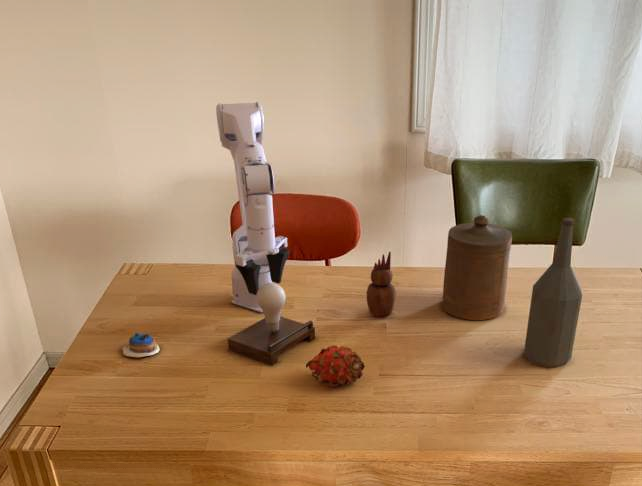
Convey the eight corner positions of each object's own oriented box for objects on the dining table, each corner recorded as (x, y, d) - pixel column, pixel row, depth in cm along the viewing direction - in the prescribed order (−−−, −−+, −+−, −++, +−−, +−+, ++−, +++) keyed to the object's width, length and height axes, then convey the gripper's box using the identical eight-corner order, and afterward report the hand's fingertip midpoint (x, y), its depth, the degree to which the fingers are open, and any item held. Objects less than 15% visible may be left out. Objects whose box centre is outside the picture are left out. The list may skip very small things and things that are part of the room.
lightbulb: (292, 328, 173) (289, 280, 167) (280, 340, 169) (277, 291, 162) (267, 323, 175) (263, 276, 168) (254, 335, 170) (250, 287, 164)
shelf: (228, 350, 171) (226, 331, 168) (273, 324, 181) (271, 307, 178) (271, 365, 166) (270, 346, 163) (315, 338, 176) (314, 320, 173)
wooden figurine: (396, 309, 189) (398, 248, 180) (394, 320, 184) (395, 258, 175) (368, 308, 189) (368, 246, 180) (365, 318, 184) (365, 256, 175)
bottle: (575, 352, 173) (600, 215, 155) (564, 372, 166) (589, 231, 148) (530, 342, 176) (549, 207, 159) (517, 361, 169) (535, 222, 151)
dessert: (167, 348, 169) (148, 331, 164) (149, 372, 168) (129, 357, 164) (148, 337, 174) (129, 321, 169) (130, 361, 173) (111, 346, 168)
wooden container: (514, 304, 193) (525, 213, 179) (486, 326, 182) (496, 232, 169) (460, 289, 199) (467, 201, 186) (430, 310, 189) (436, 218, 176)
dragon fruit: (368, 393, 160) (311, 395, 162) (370, 355, 163) (314, 358, 165) (359, 376, 152) (299, 378, 155) (361, 336, 155) (302, 339, 157)
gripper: (251, 239, 157) (257, 303, 165) (297, 220, 167) (300, 281, 175) (225, 232, 160) (231, 295, 168) (271, 213, 170) (275, 274, 178)
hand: (265, 287), depth 172 cm, fingers open, 7 cm apart
